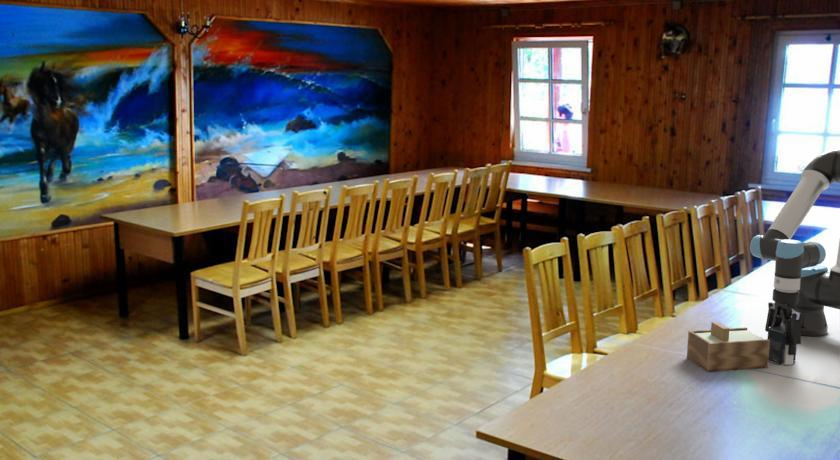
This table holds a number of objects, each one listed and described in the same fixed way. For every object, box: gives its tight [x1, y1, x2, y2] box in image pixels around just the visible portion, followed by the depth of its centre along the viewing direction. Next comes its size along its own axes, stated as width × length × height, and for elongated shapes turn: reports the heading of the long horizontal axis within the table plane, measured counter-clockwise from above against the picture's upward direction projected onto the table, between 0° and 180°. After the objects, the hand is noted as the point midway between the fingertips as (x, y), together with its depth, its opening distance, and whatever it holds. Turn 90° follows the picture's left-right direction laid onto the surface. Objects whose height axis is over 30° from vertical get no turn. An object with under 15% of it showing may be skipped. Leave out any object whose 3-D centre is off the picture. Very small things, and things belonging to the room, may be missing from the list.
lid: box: [695, 321, 765, 343], centre depth 252 cm, size 19×11×5 cm, turn 100°
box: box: [766, 325, 798, 365], centre depth 255 cm, size 8×6×11 cm
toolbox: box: [686, 326, 770, 373], centre depth 253 cm, size 20×13×9 cm, turn 100°
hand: (780, 359), depth 256 cm, fingers closed on box, 7 cm apart
